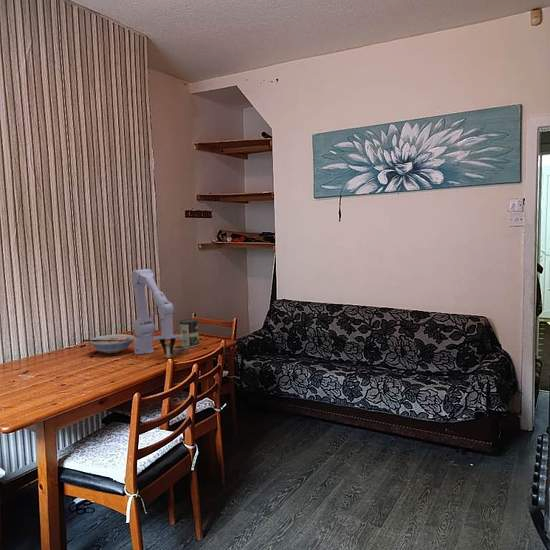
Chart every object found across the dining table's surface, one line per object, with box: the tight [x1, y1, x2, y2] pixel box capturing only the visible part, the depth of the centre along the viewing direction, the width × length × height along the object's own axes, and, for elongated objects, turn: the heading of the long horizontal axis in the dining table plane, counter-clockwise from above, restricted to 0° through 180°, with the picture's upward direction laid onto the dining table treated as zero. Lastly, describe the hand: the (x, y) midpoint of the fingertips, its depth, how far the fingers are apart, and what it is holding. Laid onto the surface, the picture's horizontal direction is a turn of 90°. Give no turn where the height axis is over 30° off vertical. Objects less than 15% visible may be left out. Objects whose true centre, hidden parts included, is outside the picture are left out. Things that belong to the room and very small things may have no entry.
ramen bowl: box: [81, 333, 135, 355], centre depth 262 cm, size 25×23×8 cm
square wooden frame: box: [171, 344, 190, 356], centre depth 257 cm, size 8×8×3 cm
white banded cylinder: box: [165, 342, 172, 359], centre depth 248 cm, size 2×2×7 cm
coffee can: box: [178, 318, 200, 349], centre depth 273 cm, size 10×10×14 cm
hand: (168, 353), depth 248 cm, fingers closed on white banded cylinder, 2 cm apart
